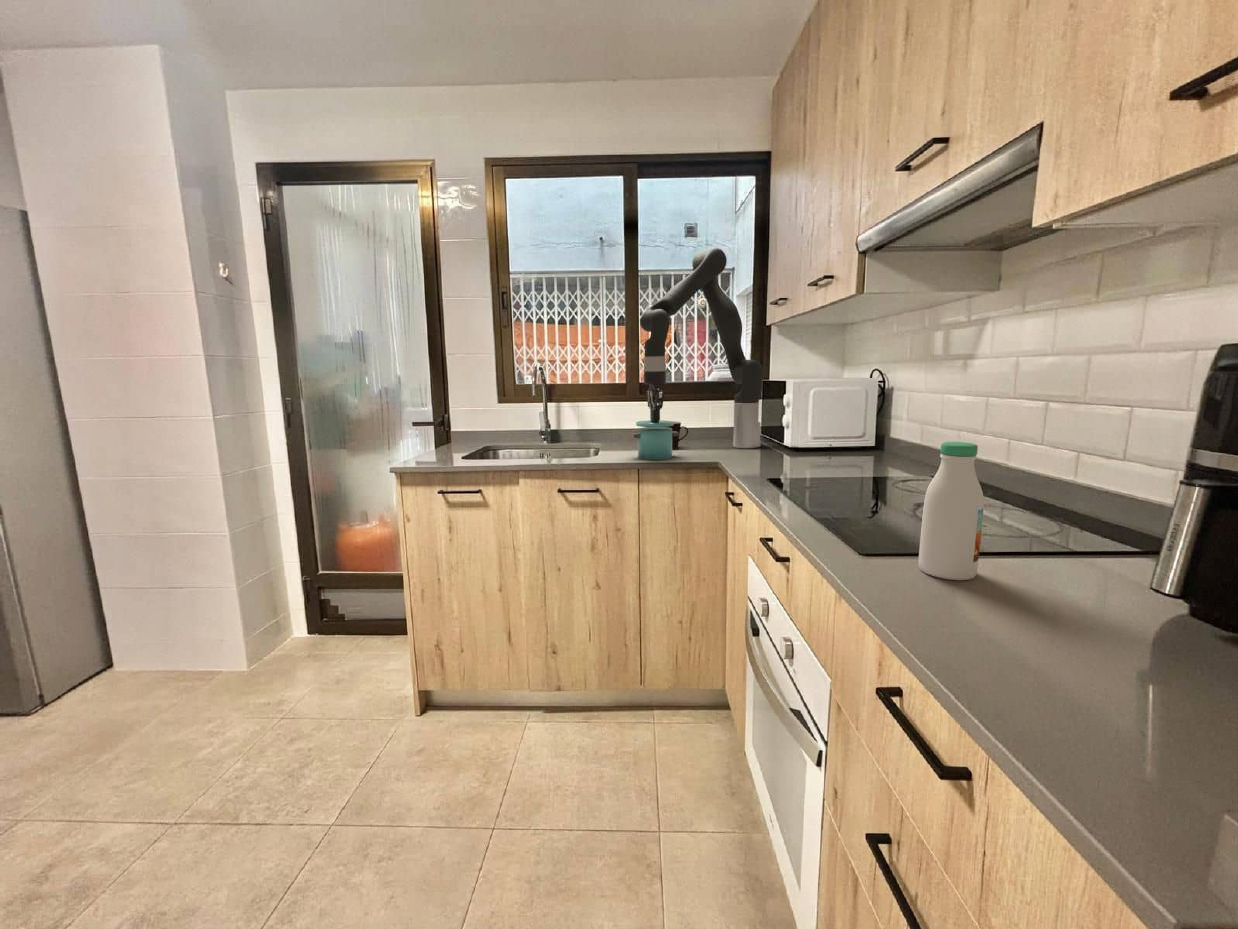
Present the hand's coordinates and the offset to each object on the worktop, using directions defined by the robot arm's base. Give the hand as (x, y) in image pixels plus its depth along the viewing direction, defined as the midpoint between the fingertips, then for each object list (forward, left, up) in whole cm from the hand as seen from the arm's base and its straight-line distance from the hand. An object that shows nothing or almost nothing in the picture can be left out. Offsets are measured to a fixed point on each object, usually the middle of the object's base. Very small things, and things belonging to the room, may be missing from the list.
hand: (655, 420), depth 187 cm
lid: (0, 0, -2) cm, 2 cm away
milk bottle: (-12, +114, -13) cm, 115 cm away
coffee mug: (-12, -17, -13) cm, 25 cm away
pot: (0, 0, -13) cm, 13 cm away
